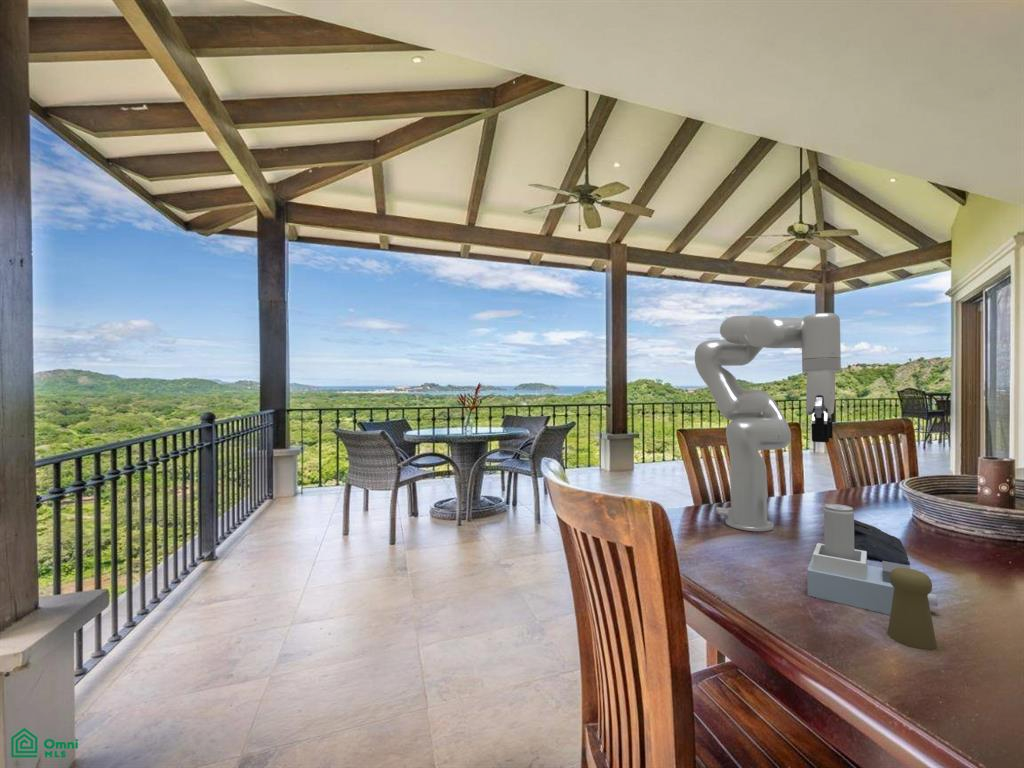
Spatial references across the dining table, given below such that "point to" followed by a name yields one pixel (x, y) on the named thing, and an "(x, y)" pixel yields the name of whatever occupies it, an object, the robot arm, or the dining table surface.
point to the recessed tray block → (853, 581)
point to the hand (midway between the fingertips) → (822, 439)
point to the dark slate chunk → (879, 544)
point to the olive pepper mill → (911, 609)
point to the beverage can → (839, 531)
